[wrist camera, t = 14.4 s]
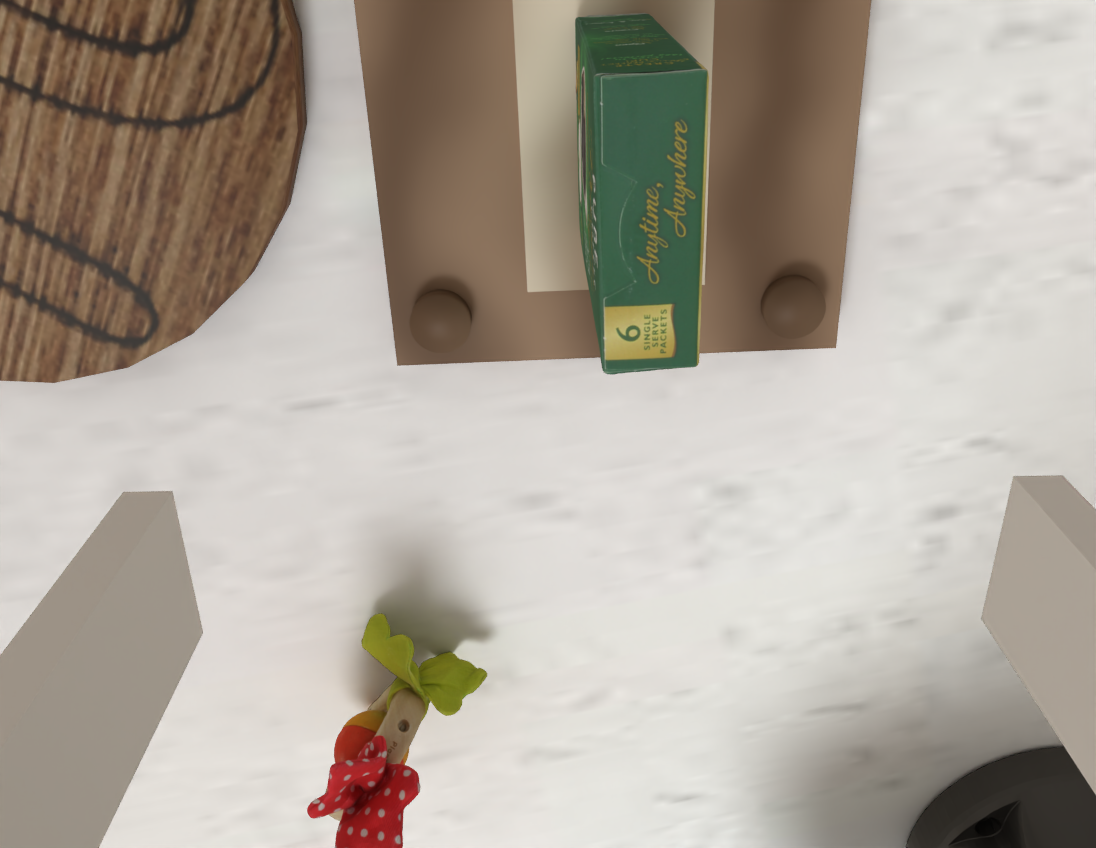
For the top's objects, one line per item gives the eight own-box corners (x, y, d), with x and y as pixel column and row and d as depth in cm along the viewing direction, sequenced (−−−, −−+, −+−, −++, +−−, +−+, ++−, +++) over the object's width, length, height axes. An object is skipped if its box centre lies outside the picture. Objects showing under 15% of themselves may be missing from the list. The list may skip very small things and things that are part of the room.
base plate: (871, -159, 33) (895, -166, 31) (824, 331, 42) (841, 355, 39) (346, -136, 34) (332, -141, 31) (402, 348, 42) (395, 373, 39)
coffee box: (652, 238, 38) (704, 377, 26) (577, 240, 38) (595, 381, 26) (654, 11, 34) (717, 54, 22) (572, 14, 34) (590, 58, 22)
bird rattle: (442, 699, 53) (510, 636, 47) (380, 914, 46) (451, 875, 40) (336, 656, 52) (392, 585, 46) (255, 870, 45) (307, 822, 38)
